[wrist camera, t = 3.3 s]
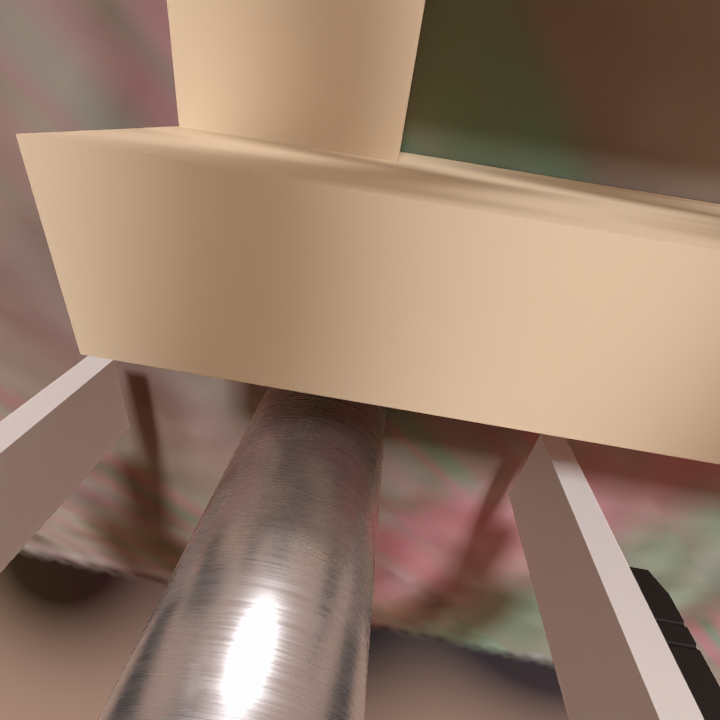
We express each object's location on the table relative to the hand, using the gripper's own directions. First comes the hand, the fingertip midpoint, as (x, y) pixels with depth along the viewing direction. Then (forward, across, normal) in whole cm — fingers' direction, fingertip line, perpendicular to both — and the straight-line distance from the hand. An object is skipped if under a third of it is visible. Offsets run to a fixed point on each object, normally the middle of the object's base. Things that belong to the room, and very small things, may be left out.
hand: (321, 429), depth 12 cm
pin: (+1, 0, 0) cm, 1 cm away
